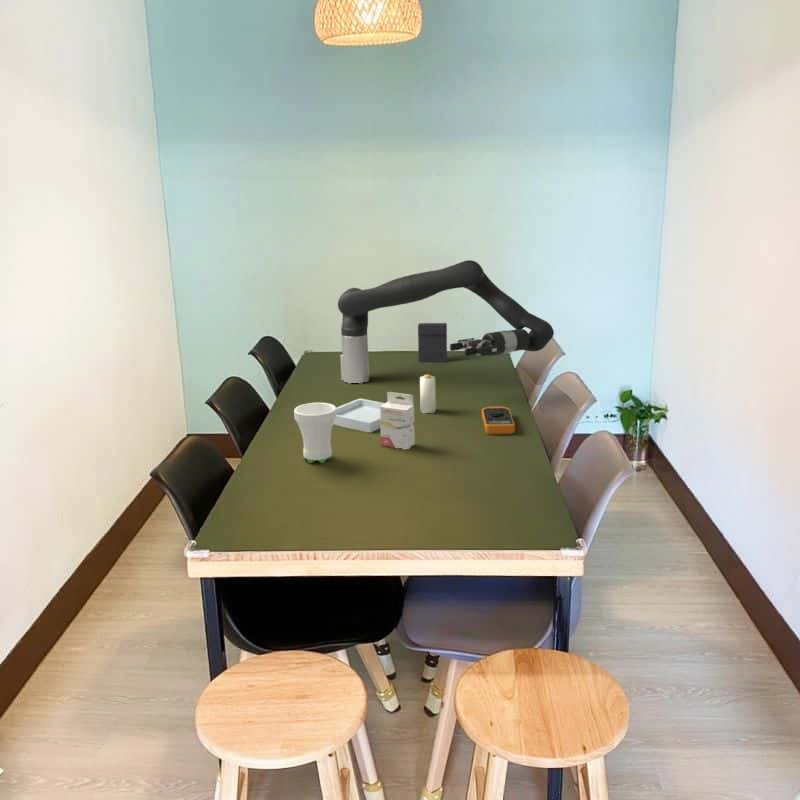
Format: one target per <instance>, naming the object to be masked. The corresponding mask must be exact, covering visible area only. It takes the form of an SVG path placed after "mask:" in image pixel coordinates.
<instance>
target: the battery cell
mask: <svg viewBox="0 0 800 800" xmlns="http://www.w3.org/2000/svg"><path fill="white" fill-rule="evenodd" d="M419 394H420V396H419V401H420V402H419V403H420V405H419V407H420V410H419V411H421V412H422V414H425V413H431V414H434V413H436V412H435V411H437V410H436V409H437V407H436V376H434V375H431V374H424V375H421V376H420V377H419ZM421 412H420V413H421Z"/></svg>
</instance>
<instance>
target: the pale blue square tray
mask: <svg viewBox="0 0 800 800" xmlns="http://www.w3.org/2000/svg"><path fill="white" fill-rule="evenodd" d="M385 403H386V402H381V401H374V400H370V399H365V398H358V399H355V400H351V401H350V402H347V403H344V404H341V405H340V406H338V407H337V406H336V418H335V420H334V423H333V426H338V427H342V428H346V429H351V430H354V431H355V430H356V431H361V432H363V433H364V432H366V433H368V432H369V433H368V434H370V433H373V432H375V431H377V430H380V429H381V423H380V406H382V405H383V404H385Z"/></svg>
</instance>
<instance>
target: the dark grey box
mask: <svg viewBox="0 0 800 800" xmlns="http://www.w3.org/2000/svg"><path fill="white" fill-rule="evenodd" d="M447 329H448V325H447V323H446V322H436V323H435V322H424V323H423V322H419V323H418V325H417V336H418V338H417V339H418V340H417V341H418V343H417V344H418V347H417V348H418V362H419V363H446V362H447V361H448V347H447V346H448V342H447V341H448V335H447V334H448V331H447Z"/></svg>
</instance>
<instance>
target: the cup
mask: <svg viewBox="0 0 800 800" xmlns="http://www.w3.org/2000/svg"><path fill="white" fill-rule="evenodd" d="M336 408H337V406H335V405H334V404H331V403H328V402H311V403H310V402H309V403H303V404H300V405H298V406H296V407H295V408H294V410H293V414H294V416H293V417H294V420H295V421H296V423H297V425H298V427H299V430H300V433H301V436H302V442H303V450H302V451H303V452H302V453H303V458H304V459H305V460H306V459H307V460H306V461H307V462H308V463H309V464H313V463H315V461H318V462H319V463H320V464H324V463H325V462H326V460H328V459H329V460H331V459H332V457H333V451H332V450H333V448H332V445H331V437H332V430H333V426H334V425H333V423H334V420H335V418H336Z"/></svg>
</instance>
